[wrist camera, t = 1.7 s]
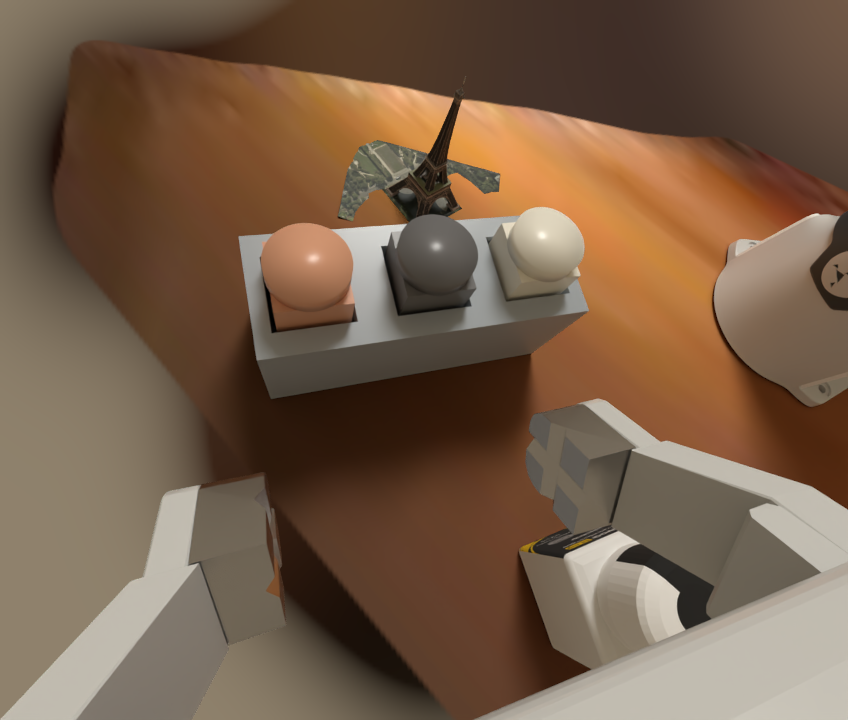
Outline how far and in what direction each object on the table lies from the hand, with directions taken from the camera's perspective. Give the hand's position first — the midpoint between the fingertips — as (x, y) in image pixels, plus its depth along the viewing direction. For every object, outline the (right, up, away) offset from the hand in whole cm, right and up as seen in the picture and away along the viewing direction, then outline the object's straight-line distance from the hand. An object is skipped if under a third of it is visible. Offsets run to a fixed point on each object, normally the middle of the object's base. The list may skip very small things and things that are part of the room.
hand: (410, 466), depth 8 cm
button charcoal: (-1, +6, +25) cm, 25 cm away
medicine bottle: (+12, -15, +26) cm, 32 cm away
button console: (-2, +5, +29) cm, 29 cm away
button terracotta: (-8, +5, +23) cm, 24 cm away
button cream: (+7, +7, +27) cm, 29 cm away
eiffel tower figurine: (0, +17, +35) cm, 39 cm away
